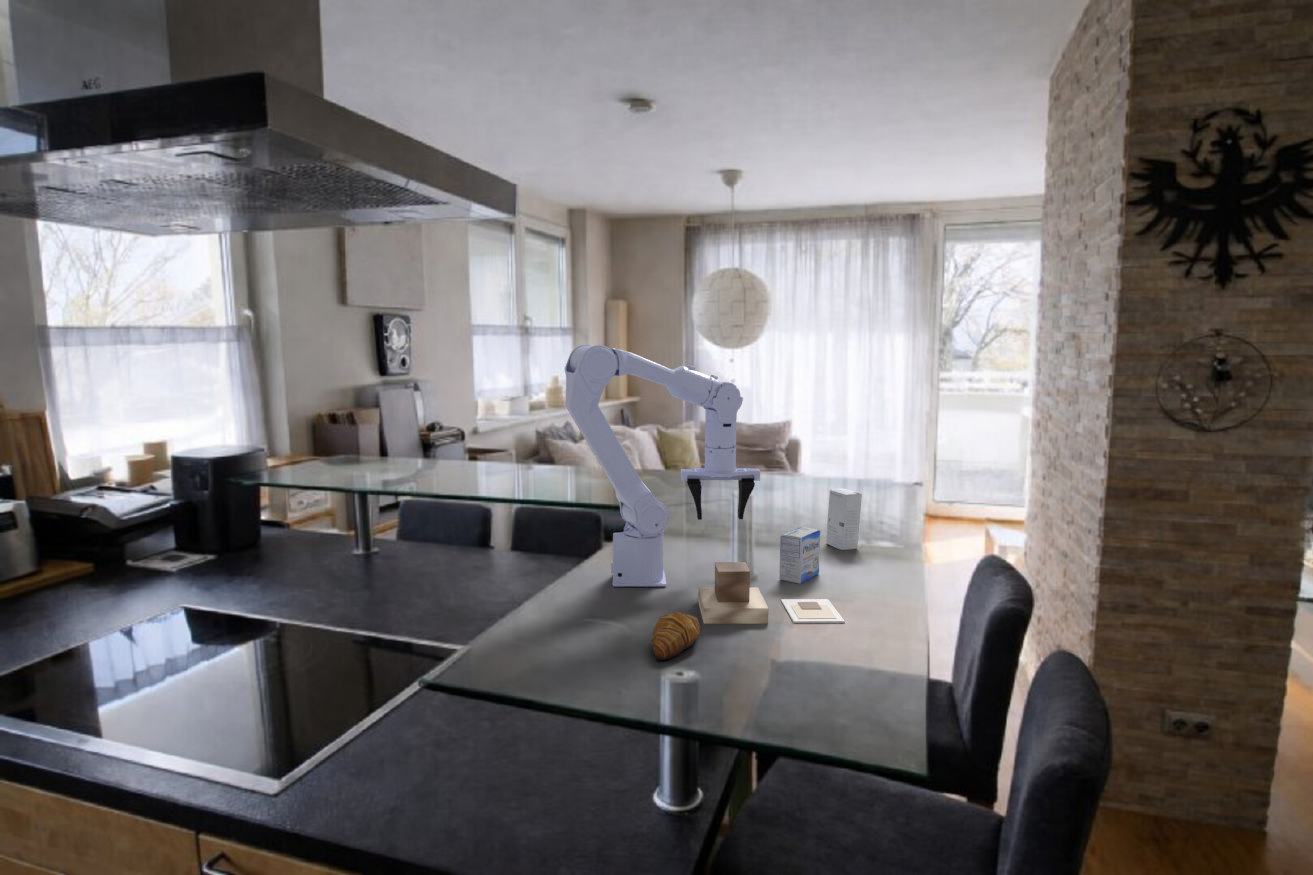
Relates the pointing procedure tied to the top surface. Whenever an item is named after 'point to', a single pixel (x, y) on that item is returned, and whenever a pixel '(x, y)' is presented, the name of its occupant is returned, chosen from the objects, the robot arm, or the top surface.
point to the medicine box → (799, 555)
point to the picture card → (812, 611)
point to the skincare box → (843, 518)
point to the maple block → (732, 608)
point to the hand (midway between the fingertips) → (719, 518)
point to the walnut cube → (732, 582)
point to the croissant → (674, 634)
